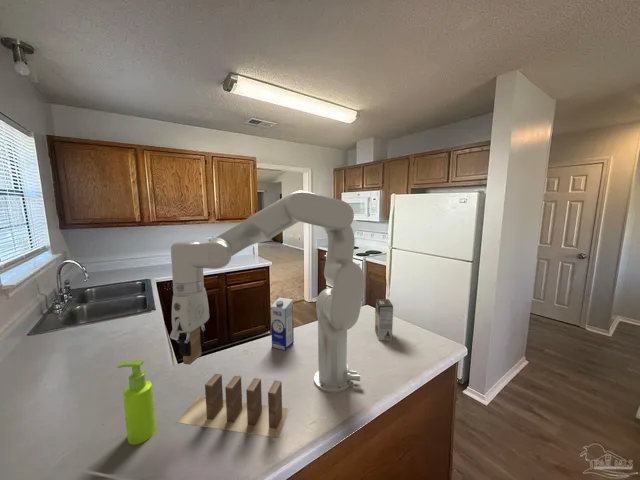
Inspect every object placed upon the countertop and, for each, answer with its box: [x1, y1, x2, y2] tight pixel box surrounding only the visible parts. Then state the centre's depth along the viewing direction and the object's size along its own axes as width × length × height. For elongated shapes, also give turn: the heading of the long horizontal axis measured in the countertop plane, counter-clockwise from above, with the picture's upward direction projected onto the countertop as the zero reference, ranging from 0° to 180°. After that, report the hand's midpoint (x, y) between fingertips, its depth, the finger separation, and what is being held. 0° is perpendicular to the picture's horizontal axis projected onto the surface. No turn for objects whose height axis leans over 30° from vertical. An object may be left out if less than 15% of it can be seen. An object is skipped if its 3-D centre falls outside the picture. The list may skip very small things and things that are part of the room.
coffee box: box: [374, 298, 394, 341], centre depth 120 cm, size 9×6×16 cm
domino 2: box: [204, 373, 224, 420], centre depth 74 cm, size 2×5×10 cm, turn 170°
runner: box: [176, 396, 291, 439], centre depth 73 cm, size 29×10×1 cm, turn 80°
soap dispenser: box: [116, 359, 156, 445], centre depth 66 cm, size 6×7×20 cm
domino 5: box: [267, 380, 283, 429], centre depth 71 cm, size 2×5×10 cm, turn 170°
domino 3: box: [224, 375, 243, 423], centre depth 73 cm, size 2×5×10 cm, turn 170°
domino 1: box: [182, 326, 202, 365], centre depth 73 cm, size 2×5×10 cm, turn 170°
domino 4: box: [245, 377, 263, 426], centre depth 72 cm, size 2×5×10 cm, turn 170°
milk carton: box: [270, 296, 295, 352], centre depth 111 cm, size 7×7×20 cm
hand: (192, 349), depth 73 cm, fingers closed on domino 1, 4 cm apart
